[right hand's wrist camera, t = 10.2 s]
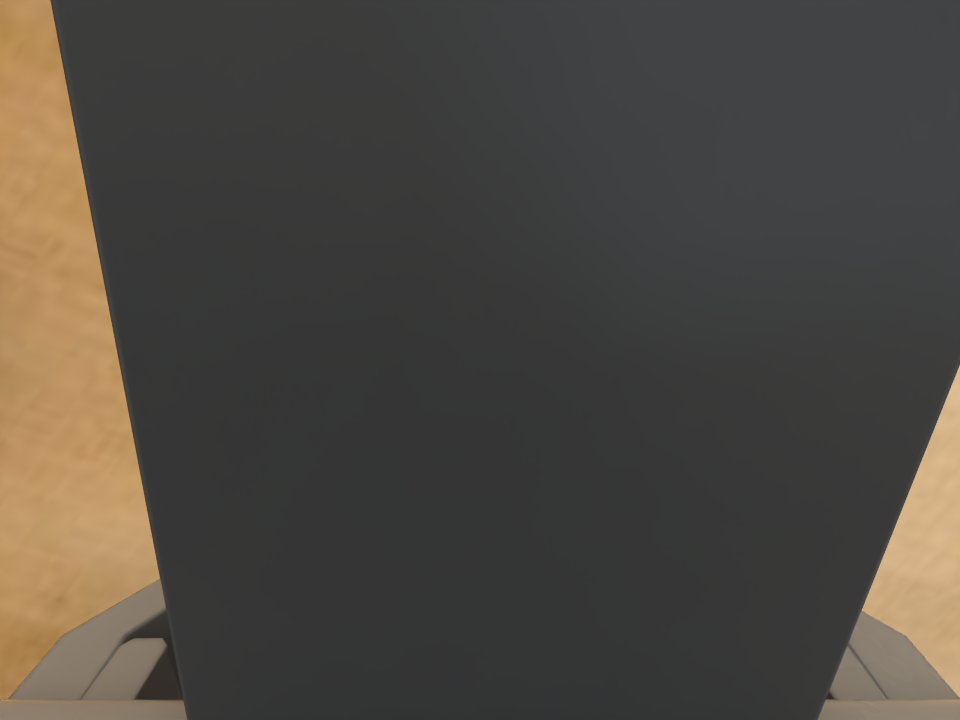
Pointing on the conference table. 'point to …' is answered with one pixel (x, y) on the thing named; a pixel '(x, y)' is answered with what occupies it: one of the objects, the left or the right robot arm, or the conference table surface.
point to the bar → (522, 339)
